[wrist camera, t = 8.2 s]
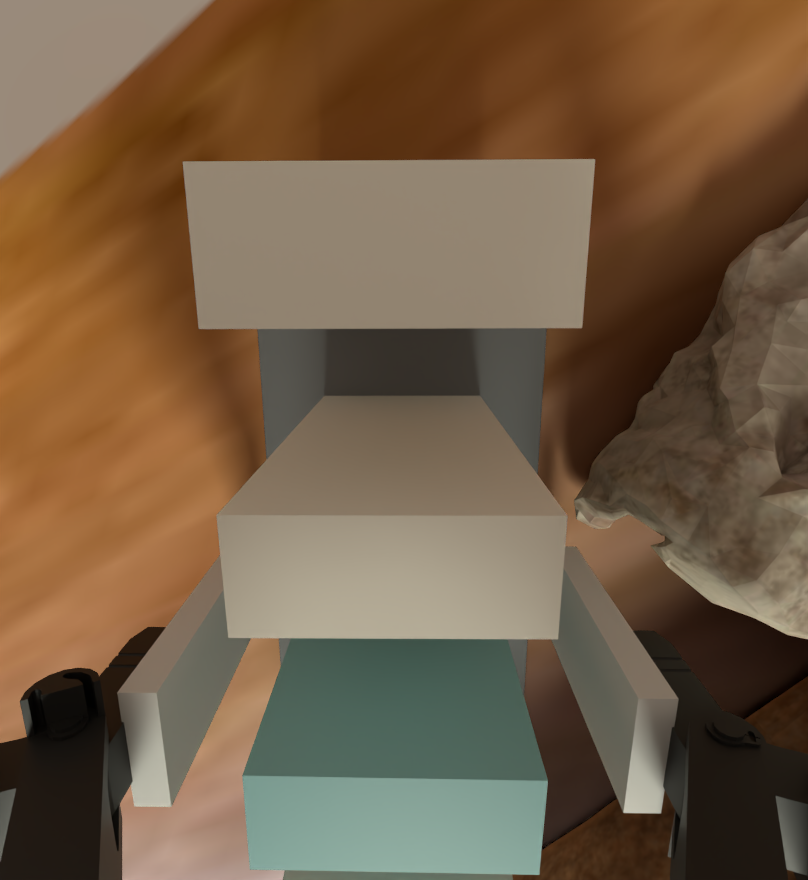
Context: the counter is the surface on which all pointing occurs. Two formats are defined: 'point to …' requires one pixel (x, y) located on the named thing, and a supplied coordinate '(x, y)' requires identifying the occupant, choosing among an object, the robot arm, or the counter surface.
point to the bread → (657, 815)
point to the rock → (728, 443)
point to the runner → (406, 381)
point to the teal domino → (396, 761)
